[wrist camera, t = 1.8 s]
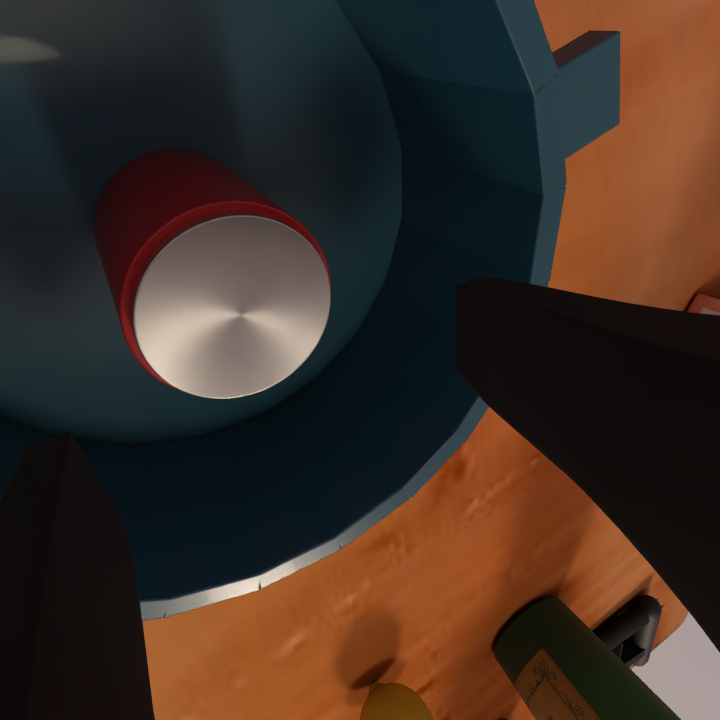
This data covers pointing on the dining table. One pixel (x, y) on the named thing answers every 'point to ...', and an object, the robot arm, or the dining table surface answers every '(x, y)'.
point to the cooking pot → (310, 207)
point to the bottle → (571, 669)
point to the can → (209, 275)
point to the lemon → (394, 704)
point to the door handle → (633, 631)
